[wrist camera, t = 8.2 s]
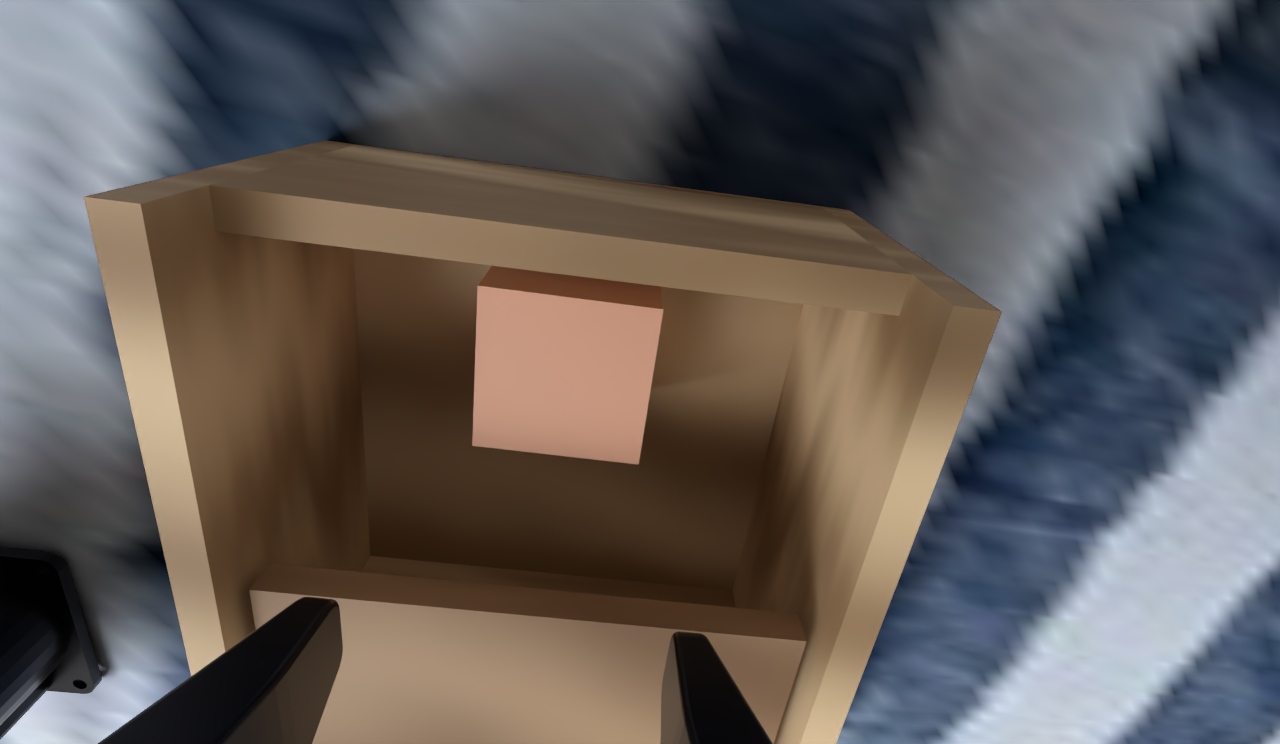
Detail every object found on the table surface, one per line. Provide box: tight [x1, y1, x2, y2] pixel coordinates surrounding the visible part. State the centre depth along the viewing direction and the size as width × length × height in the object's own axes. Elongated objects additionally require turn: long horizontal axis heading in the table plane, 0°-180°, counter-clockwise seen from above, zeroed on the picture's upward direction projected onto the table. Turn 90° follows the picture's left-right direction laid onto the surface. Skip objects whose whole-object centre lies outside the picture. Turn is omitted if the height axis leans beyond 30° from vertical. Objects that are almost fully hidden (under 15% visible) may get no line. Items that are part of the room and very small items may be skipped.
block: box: [472, 266, 664, 465], centre depth 17 cm, size 4×4×4 cm
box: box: [84, 140, 1002, 744], centre depth 17 cm, size 14×14×8 cm
